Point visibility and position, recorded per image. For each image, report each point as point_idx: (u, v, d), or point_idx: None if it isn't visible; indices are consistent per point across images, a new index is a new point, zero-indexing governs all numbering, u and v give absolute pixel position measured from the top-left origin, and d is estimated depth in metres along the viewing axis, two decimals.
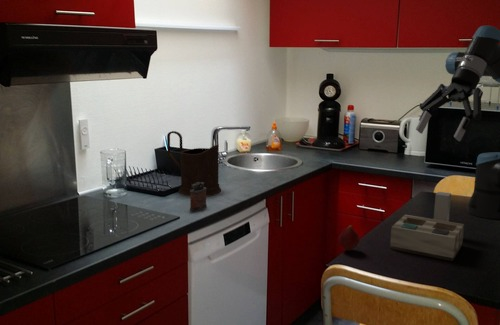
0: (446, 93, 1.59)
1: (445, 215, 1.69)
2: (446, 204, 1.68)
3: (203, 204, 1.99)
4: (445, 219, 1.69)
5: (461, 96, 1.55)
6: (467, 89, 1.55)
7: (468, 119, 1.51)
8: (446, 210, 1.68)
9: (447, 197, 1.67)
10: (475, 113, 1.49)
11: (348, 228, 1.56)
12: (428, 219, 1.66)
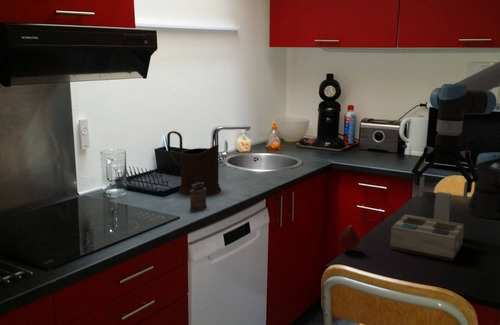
0: (436, 158, 1.67)
1: (445, 215, 1.69)
2: (446, 204, 1.68)
3: (203, 204, 1.99)
4: (445, 219, 1.69)
5: (454, 162, 1.65)
6: (456, 153, 1.64)
7: (469, 183, 1.64)
8: (446, 210, 1.68)
9: (447, 197, 1.67)
10: (475, 178, 1.63)
11: (348, 228, 1.56)
12: (428, 219, 1.66)
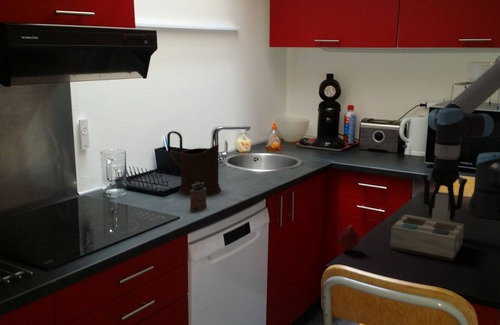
0: (438, 183, 1.68)
1: (445, 215, 1.69)
2: (446, 204, 1.68)
3: (203, 204, 1.99)
4: (445, 219, 1.69)
5: (448, 186, 1.67)
6: (454, 176, 1.66)
7: (452, 211, 1.68)
8: (446, 210, 1.68)
9: (447, 197, 1.67)
10: (458, 206, 1.67)
11: (348, 228, 1.56)
12: (428, 219, 1.66)
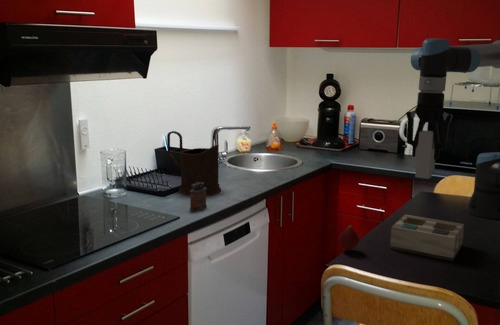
0: (421, 120, 1.58)
1: (429, 154, 1.58)
2: (430, 142, 1.58)
3: (203, 204, 1.99)
4: (429, 158, 1.59)
5: (432, 122, 1.57)
6: (439, 112, 1.56)
7: (436, 150, 1.58)
8: (430, 148, 1.58)
9: (431, 134, 1.57)
10: (443, 144, 1.57)
11: (348, 228, 1.56)
12: (428, 219, 1.66)
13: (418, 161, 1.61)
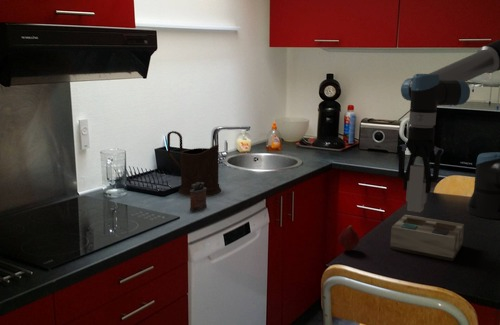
0: (412, 154, 1.59)
1: (420, 188, 1.59)
2: (421, 176, 1.58)
3: (203, 204, 1.99)
4: (420, 192, 1.59)
5: (423, 157, 1.57)
6: (430, 146, 1.56)
7: (428, 183, 1.59)
8: (421, 182, 1.58)
9: (422, 168, 1.57)
10: (434, 178, 1.57)
11: (348, 228, 1.56)
12: (428, 219, 1.66)
13: (410, 195, 1.61)
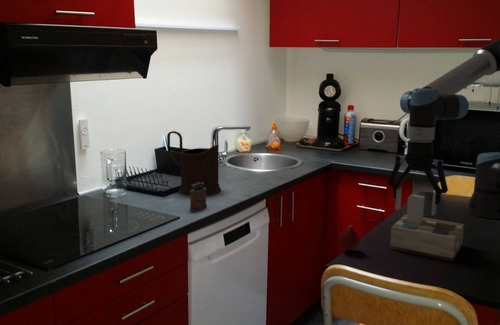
0: (409, 167, 1.60)
1: (418, 219, 1.61)
2: (419, 207, 1.60)
3: (203, 204, 1.99)
4: (418, 223, 1.61)
5: (425, 171, 1.57)
6: (429, 161, 1.57)
7: (438, 195, 1.58)
8: (419, 214, 1.60)
9: (420, 200, 1.59)
10: (444, 190, 1.56)
11: (348, 228, 1.56)
12: (428, 219, 1.66)
13: None
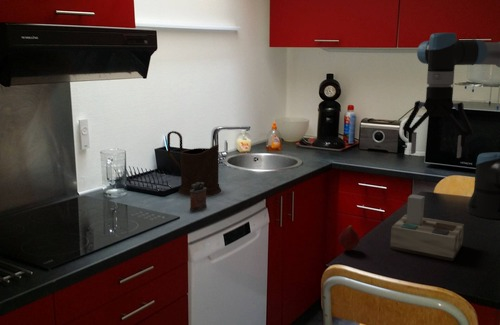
0: (428, 113, 1.60)
1: (418, 219, 1.61)
2: (419, 207, 1.60)
3: (203, 204, 1.99)
4: (418, 223, 1.61)
5: (446, 115, 1.57)
6: (448, 105, 1.57)
7: (463, 137, 1.57)
8: (419, 214, 1.60)
9: (420, 200, 1.59)
10: (469, 131, 1.55)
11: (348, 228, 1.56)
12: (428, 219, 1.66)
13: None
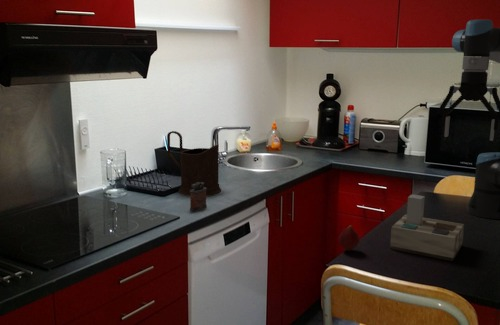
0: (462, 97, 1.66)
1: (418, 219, 1.61)
2: (419, 207, 1.60)
3: (203, 204, 1.99)
4: (418, 223, 1.61)
5: (480, 99, 1.63)
6: (483, 90, 1.63)
7: (496, 120, 1.63)
8: (419, 214, 1.60)
9: (420, 200, 1.59)
10: None
11: (348, 228, 1.56)
12: (428, 219, 1.66)
13: None
